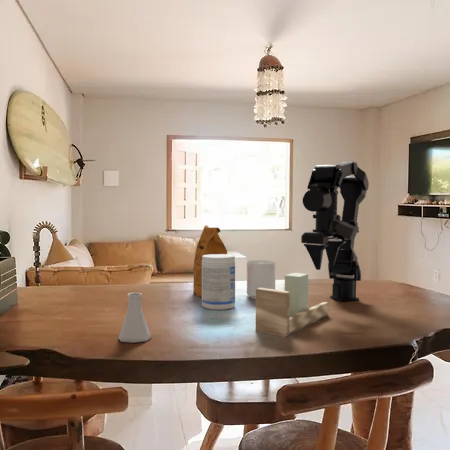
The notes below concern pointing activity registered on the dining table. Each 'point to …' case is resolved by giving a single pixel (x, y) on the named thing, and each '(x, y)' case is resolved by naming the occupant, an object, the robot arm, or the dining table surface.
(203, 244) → the coffee package
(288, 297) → the track
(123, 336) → the flask
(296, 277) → the pale green block
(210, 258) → the supplement tub
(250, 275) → the mug
